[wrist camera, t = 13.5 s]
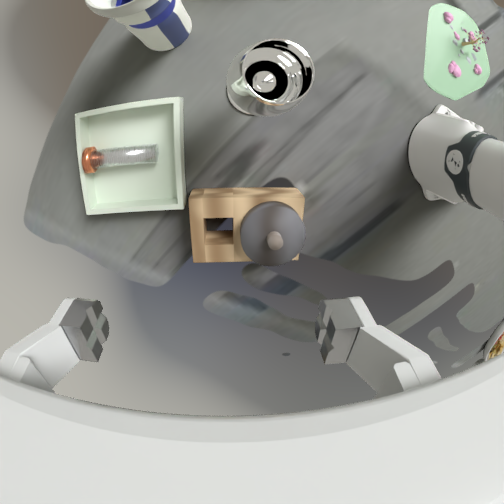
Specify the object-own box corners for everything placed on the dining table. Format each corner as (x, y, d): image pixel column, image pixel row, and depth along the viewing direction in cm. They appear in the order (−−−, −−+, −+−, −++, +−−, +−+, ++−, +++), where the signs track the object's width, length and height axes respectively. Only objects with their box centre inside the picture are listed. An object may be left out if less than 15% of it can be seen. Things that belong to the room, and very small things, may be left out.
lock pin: (154, 167, 35) (82, 175, 33) (159, 166, 38) (92, 172, 37) (154, 139, 33) (81, 147, 32) (159, 139, 37) (91, 147, 35)
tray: (183, 98, 34) (179, 96, 31) (186, 201, 42) (183, 209, 39) (85, 112, 33) (74, 113, 30) (95, 207, 40) (86, 215, 37)
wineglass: (291, 93, 35) (348, 81, 18) (252, 126, 37) (275, 139, 20) (255, 55, 32) (282, 9, 14) (214, 89, 34) (203, 67, 16)
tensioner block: (296, 188, 42) (312, 207, 34) (291, 244, 47) (304, 274, 39) (192, 188, 41) (184, 209, 33) (196, 247, 46) (190, 277, 38)
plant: (466, 129, 38) (497, 138, 31) (399, 61, 33) (432, 57, 25) (493, 52, 28) (520, 54, 21) (434, -14, 23) (461, -23, 15)
